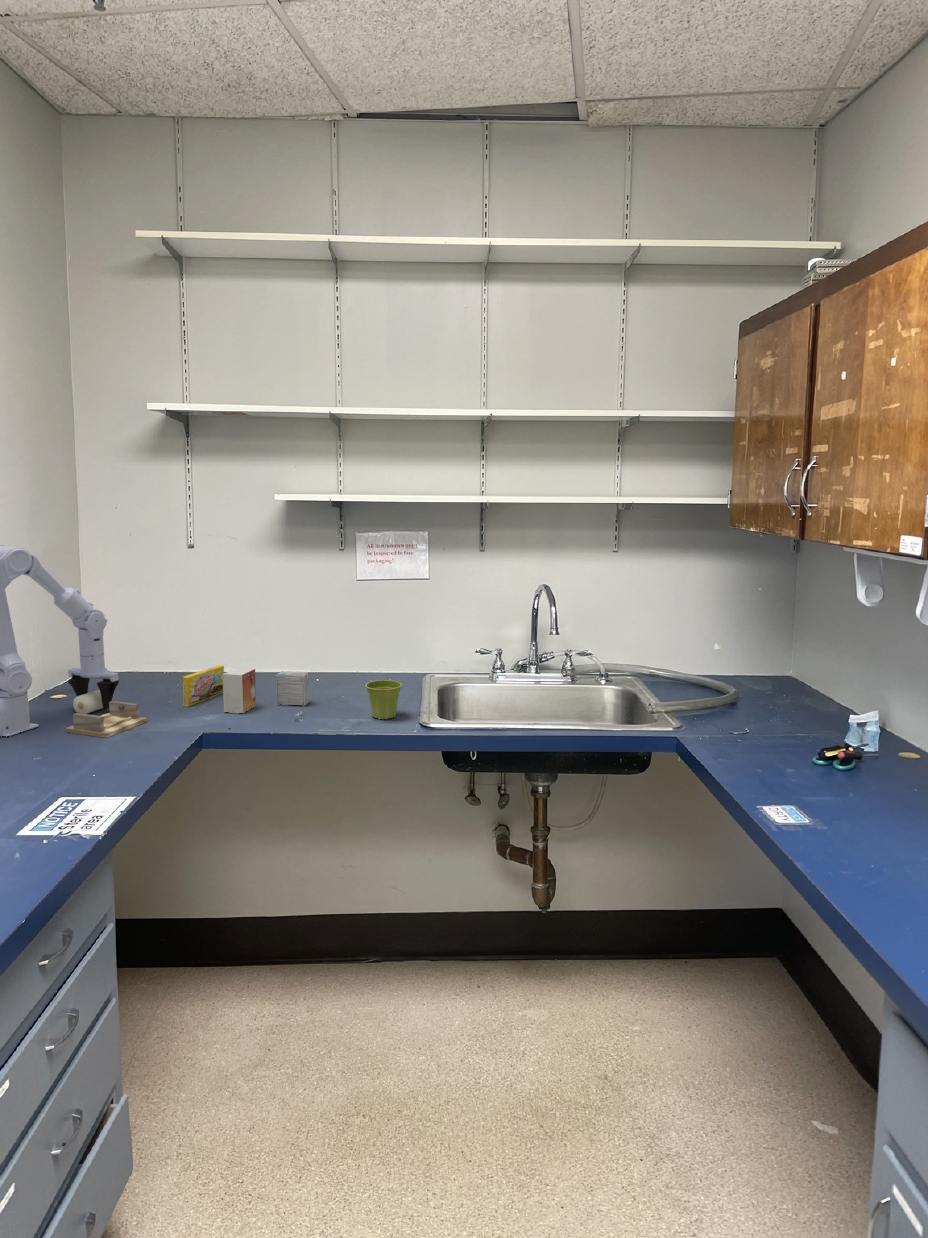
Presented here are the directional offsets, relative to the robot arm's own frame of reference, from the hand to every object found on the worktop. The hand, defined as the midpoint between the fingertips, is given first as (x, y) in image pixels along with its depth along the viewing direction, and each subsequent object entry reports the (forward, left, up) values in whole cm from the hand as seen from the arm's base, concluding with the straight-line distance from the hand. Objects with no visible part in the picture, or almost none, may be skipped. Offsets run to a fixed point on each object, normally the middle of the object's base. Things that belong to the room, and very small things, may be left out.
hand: (95, 705), depth 213 cm
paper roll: (0, 0, -1) cm, 1 cm away
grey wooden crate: (+25, -44, -2) cm, 51 cm away
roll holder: (-10, -13, -1) cm, 16 cm away
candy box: (+20, -19, -2) cm, 28 cm away
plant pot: (+23, -72, -2) cm, 76 cm away
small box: (+15, -34, -2) cm, 37 cm away
